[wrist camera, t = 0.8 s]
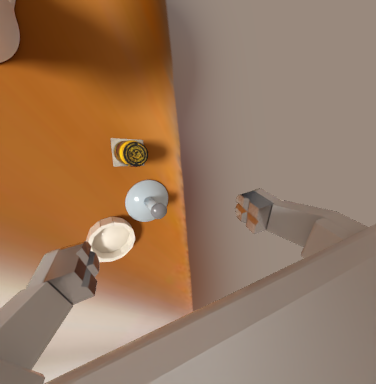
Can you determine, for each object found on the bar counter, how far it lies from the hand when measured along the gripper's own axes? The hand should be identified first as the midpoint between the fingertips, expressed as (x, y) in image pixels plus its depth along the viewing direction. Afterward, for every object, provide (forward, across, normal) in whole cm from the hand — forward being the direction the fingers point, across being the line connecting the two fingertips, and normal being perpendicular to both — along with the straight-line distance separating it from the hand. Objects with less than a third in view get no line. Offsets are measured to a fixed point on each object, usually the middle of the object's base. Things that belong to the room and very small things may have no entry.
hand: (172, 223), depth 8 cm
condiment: (+40, +3, +5) cm, 40 cm away
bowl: (+33, +15, +27) cm, 45 cm away
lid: (+38, +2, +21) cm, 43 cm away
